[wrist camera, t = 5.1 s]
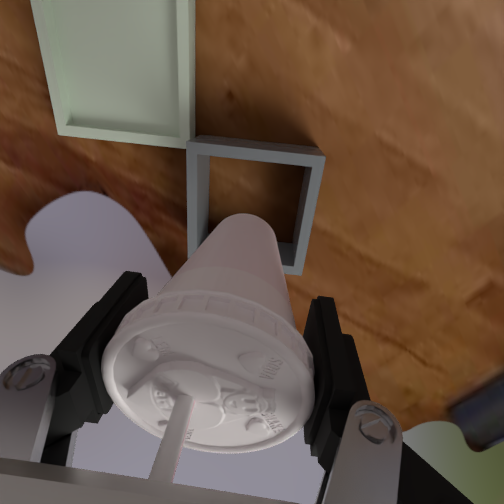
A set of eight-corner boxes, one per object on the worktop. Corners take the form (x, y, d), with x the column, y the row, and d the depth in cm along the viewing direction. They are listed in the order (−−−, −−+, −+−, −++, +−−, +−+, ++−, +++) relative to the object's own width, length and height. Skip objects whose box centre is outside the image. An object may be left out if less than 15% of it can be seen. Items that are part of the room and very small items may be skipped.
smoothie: (181, 191, 16) (-174, 546, 4) (301, 187, 15) (379, 617, 3) (199, 288, 19) (43, 654, 7) (299, 288, 18) (332, 701, 6)
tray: (29, -97, 19) (6, -115, 17) (195, -83, 19) (187, -100, 17) (72, 132, 26) (58, 134, 24) (195, 146, 25) (189, 149, 24)
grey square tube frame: (201, 134, 25) (186, 141, 21) (318, 147, 25) (325, 156, 21) (200, 239, 30) (187, 261, 26) (298, 251, 29) (301, 275, 25)
